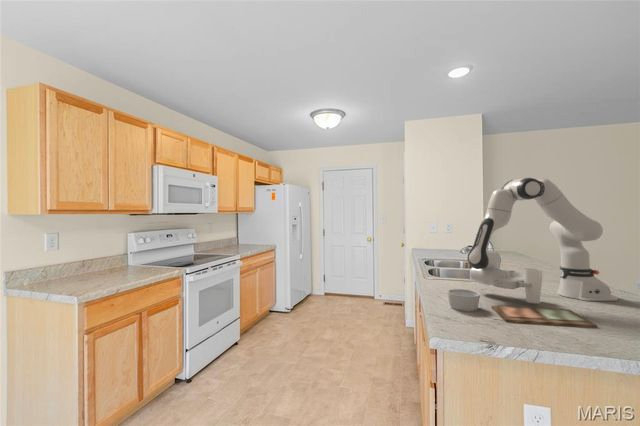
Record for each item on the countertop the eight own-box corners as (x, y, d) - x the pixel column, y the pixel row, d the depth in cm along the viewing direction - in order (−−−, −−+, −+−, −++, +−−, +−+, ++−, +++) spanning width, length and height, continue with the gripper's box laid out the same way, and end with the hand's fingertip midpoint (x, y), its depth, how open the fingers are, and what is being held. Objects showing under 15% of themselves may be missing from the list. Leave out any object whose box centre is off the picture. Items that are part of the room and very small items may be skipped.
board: (569, 311, 127) (569, 308, 127) (597, 327, 110) (597, 324, 110) (491, 307, 135) (491, 304, 135) (505, 322, 117) (505, 318, 117)
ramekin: (483, 307, 136) (483, 291, 136) (475, 314, 126) (474, 298, 126) (453, 301, 145) (453, 287, 145) (443, 308, 135) (443, 293, 135)
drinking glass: (545, 304, 133) (545, 271, 133) (528, 304, 134) (528, 271, 134) (537, 300, 140) (537, 268, 139) (521, 299, 141) (521, 268, 140)
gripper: (491, 275, 142) (523, 280, 131) (514, 270, 153) (545, 274, 141) (491, 288, 143) (523, 295, 131) (514, 282, 153) (545, 288, 141)
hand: (535, 284), depth 136 cm, fingers closed on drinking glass, 6 cm apart
